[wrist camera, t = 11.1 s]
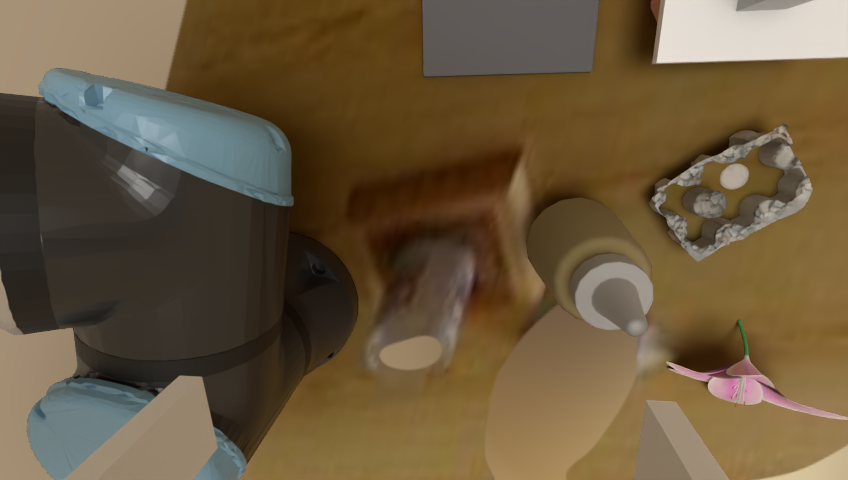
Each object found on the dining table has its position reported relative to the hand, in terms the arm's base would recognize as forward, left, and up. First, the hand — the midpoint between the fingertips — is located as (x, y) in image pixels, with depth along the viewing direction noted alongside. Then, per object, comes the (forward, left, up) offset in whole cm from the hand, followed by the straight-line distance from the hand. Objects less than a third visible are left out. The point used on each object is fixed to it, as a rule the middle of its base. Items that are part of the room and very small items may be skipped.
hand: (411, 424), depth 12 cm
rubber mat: (+4, +19, -29) cm, 34 cm away
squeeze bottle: (+10, -2, -29) cm, 31 cm away
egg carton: (+23, +2, -29) cm, 37 cm away
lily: (+25, -15, -29) cm, 41 cm away
